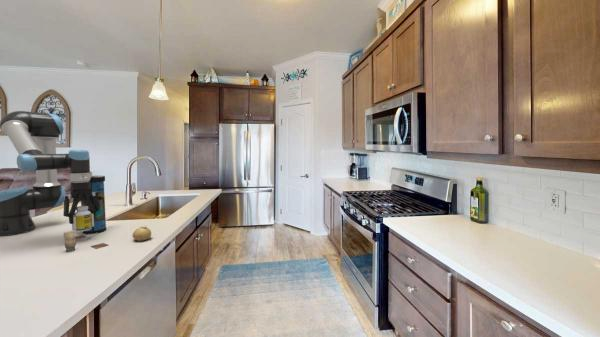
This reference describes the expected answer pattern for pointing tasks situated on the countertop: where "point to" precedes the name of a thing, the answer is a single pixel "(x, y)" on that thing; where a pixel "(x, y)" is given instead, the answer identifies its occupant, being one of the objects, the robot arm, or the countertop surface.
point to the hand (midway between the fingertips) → (83, 227)
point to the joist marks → (93, 245)
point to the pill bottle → (83, 219)
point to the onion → (141, 234)
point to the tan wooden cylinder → (69, 241)
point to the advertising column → (100, 220)
